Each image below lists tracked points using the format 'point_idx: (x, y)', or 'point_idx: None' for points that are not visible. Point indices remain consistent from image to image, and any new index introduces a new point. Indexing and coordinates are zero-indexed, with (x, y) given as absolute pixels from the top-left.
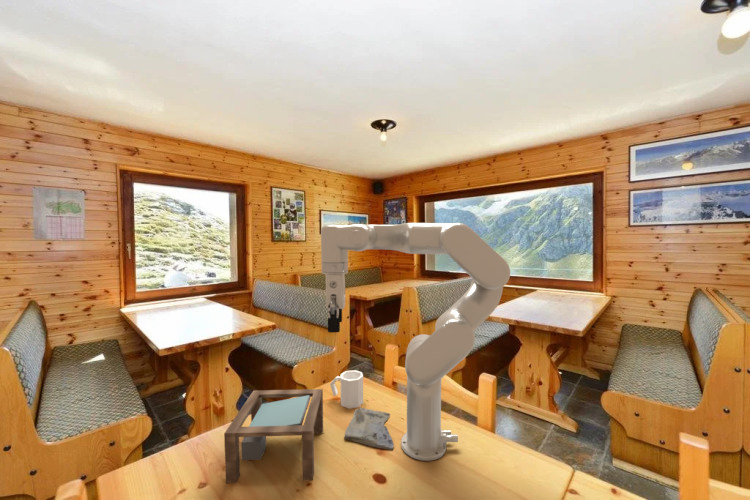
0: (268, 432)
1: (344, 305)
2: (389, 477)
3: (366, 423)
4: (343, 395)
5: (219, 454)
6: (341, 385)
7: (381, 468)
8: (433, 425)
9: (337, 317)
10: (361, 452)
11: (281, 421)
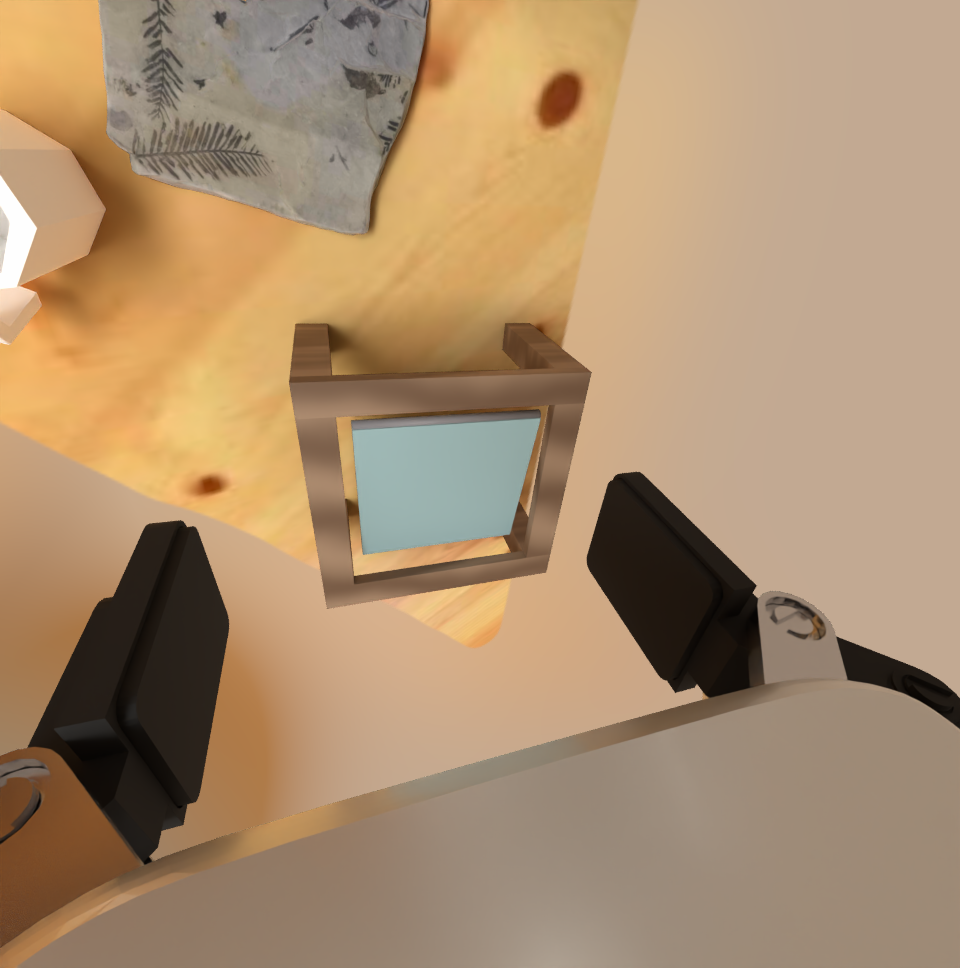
0: (565, 486)
1: (755, 755)
2: (564, 55)
3: (256, 115)
4: (68, 251)
5: (420, 547)
6: (40, 274)
7: (520, 82)
8: None
9: (804, 610)
10: (433, 161)
11: (501, 471)
